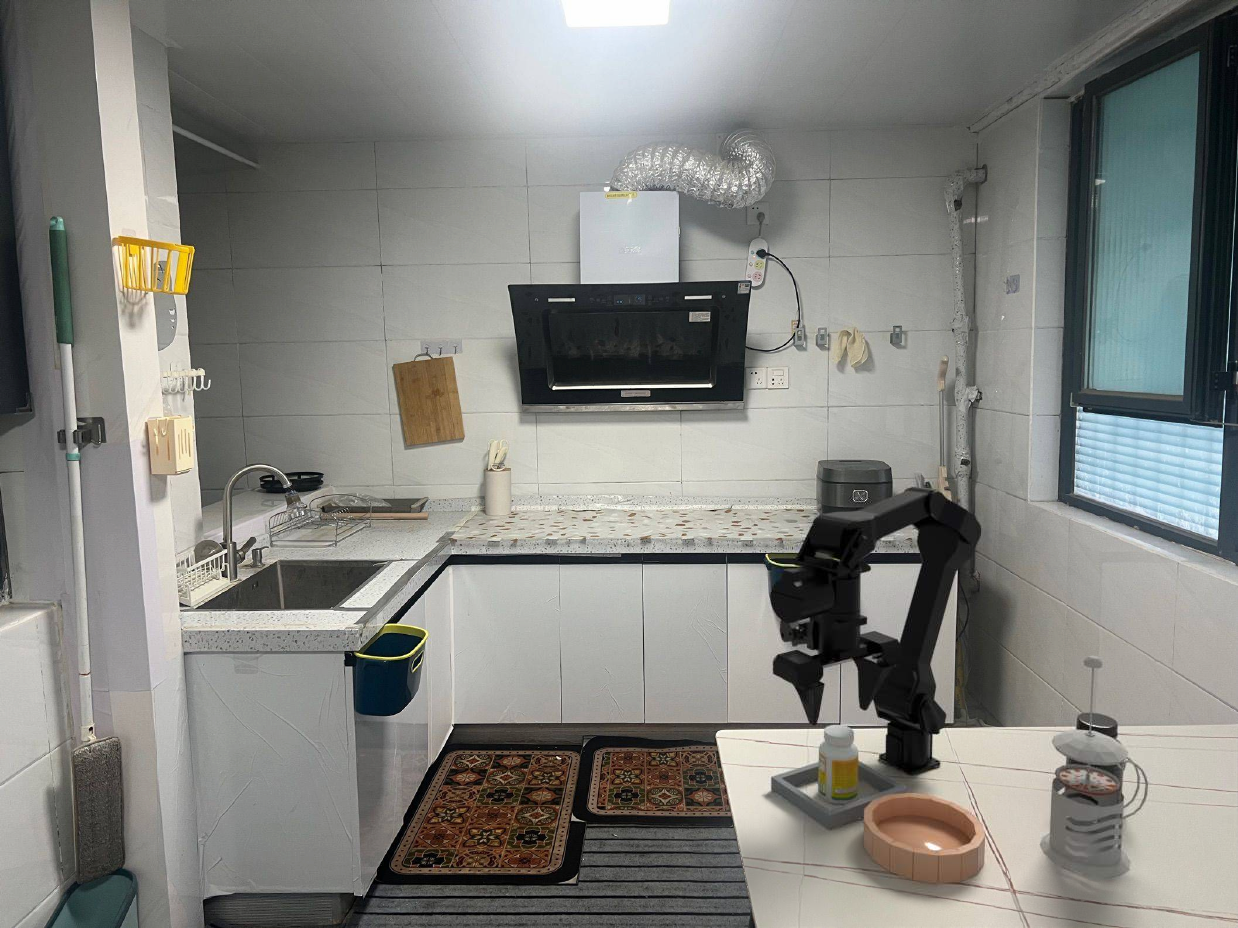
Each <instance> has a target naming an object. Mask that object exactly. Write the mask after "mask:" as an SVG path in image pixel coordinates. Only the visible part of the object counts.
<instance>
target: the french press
mask: <svg viewBox="0 0 1238 928" xmlns="http://www.w3.org/2000/svg"><path fill="white" fill-rule="evenodd" d="M1083 664H1084V667H1087V668H1091V687H1090V709H1089V710H1090V711H1089V713H1090V728H1089V731H1087V730H1076V729H1069V730H1066V731H1063V732H1060V733H1057V734H1055V735H1053V737H1052V739H1051V743H1052V745H1053V747H1054V749H1055V750H1056V751H1057V752H1058V753H1060V754H1062V755H1063V756H1064V757H1065V758H1066V757H1068V758H1071V759H1073V760H1076V761H1079V762H1084V763H1088V765H1086V766H1085V765H1079V764H1078V765H1076V764H1075V765H1074V764H1072V765H1070V764H1069V765H1066V764H1065V765H1060V766H1059V767H1057V768H1056V769H1055V771H1054V776H1055V777H1054V778H1052V782H1051V795H1050V798H1051V799H1050V820H1049V823H1050V824H1049V833H1047V834H1046V835H1044V836H1042V837H1041V839H1040V843H1039V846H1040V848H1041V851H1042V853H1043V854H1044V855H1045V856H1046V857H1047V858H1049V860H1051V861H1052V862H1053V863H1055V864H1057V865H1058V866H1061V867H1062V868H1065V869H1067V870H1069V871H1072V872H1075V873H1078V874H1082V875H1085V876H1090V877H1091V876H1092V877H1100V878H1101V877H1102V878H1111V877H1115V876H1121V875H1123V874H1125V873H1127V872H1128V871H1130V867H1131V862H1132V861H1131V859H1130V858H1129V856H1128V854H1127V853H1126V852H1125V851H1124V850H1123V848H1122V844H1123V830H1124V828H1123V827H1124V821H1125V819H1127V818H1129V817H1132V816H1134V815H1136V813H1138V812H1139V811H1140V810H1141V809H1142V807H1143V806H1144V804H1145V803H1146V800H1147V798H1148V789H1149V781H1148V778H1147V776H1146V773H1145V771H1144V770H1143V768H1142V767H1141V766H1139V765H1138V764H1137V763H1135V762H1134V761H1133V760H1132V759H1131V758H1130V757H1128V756H1129V751H1128V750H1127V748H1126V747H1125V746H1124V745H1123V744H1122V743H1121V742H1120V741H1119V742H1120V743H1121V744H1120V743H1119V742H1117V741H1116V740H1115V739H1113V738H1112V737H1109V736H1106V735H1104V734H1101V733H1098V732H1096V731H1091V724H1092V713H1093V700H1094V699H1093V696H1094V680H1095V679H1094V678H1095V669H1101V668H1102V667H1103V661H1102V659H1100V658H1099V656H1096V655H1089V656H1087V657H1085V658H1084V660H1083ZM1123 761H1124V765H1123V768H1122V767H1121V766H1120V765H1119V763H1121V762H1123ZM1127 763H1128V764H1129V763H1130V764H1131V765H1133V767H1134V769H1135V772H1136V779H1137V780H1136V781H1137V783H1136V789H1135V791H1134V794H1133V797H1132V798H1131V799H1130V801H1129V802H1127V803H1126V804H1125V805H1124V803H1125V795H1124V794H1123V792H1122V793H1121V797H1120V804H1117V805H1116V803H1117V792H1118V791H1120V790H1121V787H1122V783H1121V782H1120V781H1119V779H1118V778H1117V777H1116V776H1114V775H1112V774H1111V773H1108V772H1106V771H1105V770H1104V771H1103V770H1102V769H1100V768H1099V769H1098V768H1097V767H1096V768H1094V767H1091V766H1090V764H1093V765H1105V766H1106V765H1116V764H1117V766H1118V767H1119V768H1120V769H1122V770H1124V771H1125V770H1126V765H1127ZM1139 771H1140V773H1141V775H1142V776H1143V779H1144V783H1145V787H1144V795H1143V798H1142V800H1141V803H1140V805H1139V806H1138V807H1137V808H1136V809H1135V810H1134V811H1133V812H1130V813H1128V814H1126V815H1124V809H1127V807H1129V806H1130V805H1131V804H1132V803H1133V802H1134V801H1135V799H1136V797H1137V796H1138V793H1139V791H1140V787H1141V786H1140V784H1141V783H1140V782H1141V775H1140V773H1139ZM1065 786H1066V787H1068V788H1070V789H1068V790H1066V791H1065V792H1064V791H1063V792H1062V793H1061V794H1060V793H1059V792H1060V791H1061V790H1063V789H1064V788H1065ZM1122 788H1123V787H1122ZM1073 793H1082V794H1085V795H1088V796H1091V797H1092V798H1094V799H1095V800H1097V801H1098V805H1096V804H1095V803H1093V802H1091V801H1089V800H1086V799H1084V798H1081V797H1074V798H1066V797H1065V796H1066V795H1068V794H1073ZM1078 802H1080V803H1078ZM1082 803H1083V804H1082ZM1118 814H1119V815H1118ZM1117 815H1118V816H1119V818H1117ZM1094 820H1095V821H1096V822H1094ZM1116 825H1118V828H1116ZM1116 835H1117V836H1118V838H1116Z"/></svg>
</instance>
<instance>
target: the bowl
mask: <svg viewBox="0 0 1238 928" xmlns="http://www.w3.org/2000/svg"><path fill="white" fill-rule="evenodd" d="M985 847H986V832H985V829H984V825H983V822H981V821H980V820H979V819H978V817H976V816H975V814H973V812H972V811H970V810H968V809H966V808H964V807H962V806H960V805H959V804H957V803H955V802H953V801H951V800H947V799H944V798H941V797H937V796H933V795H929V794H920V793H919V794H918V793H910V792H907V793H903V794H890V795H886V796H883V797H880V798H878V799H875V800H873V801H872V802H871V803H870V804H869V805H868V806H867V807H866V808H865V809H864V818H863V848H864V849H865V851H866V853H867V854H868V855H869V857H870V858H871V859H872V861H874V862H875V863H876V864H878V865H879V866H881V867H883V868H884V869H885V870H887V871H888V872H890V873H893V874H895V875H897V876H900V877H903V878H906V879H909V880H913V881H917V882H924V883H930V884H938V885H939V884H941V885H942V884H950V883H952V884H953V883H961V882H964V881H965V880H967V879H970V878H972V877H975V876H977V875H978V874H979V873H980V871H981V870H982V869H983V866H984V865H985V853H986V850H985V849H986V848H985Z"/></svg>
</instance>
